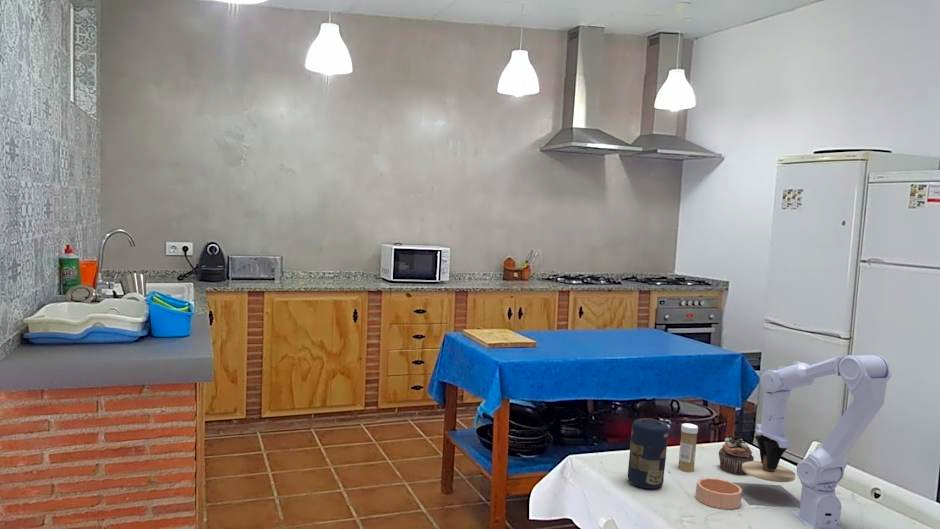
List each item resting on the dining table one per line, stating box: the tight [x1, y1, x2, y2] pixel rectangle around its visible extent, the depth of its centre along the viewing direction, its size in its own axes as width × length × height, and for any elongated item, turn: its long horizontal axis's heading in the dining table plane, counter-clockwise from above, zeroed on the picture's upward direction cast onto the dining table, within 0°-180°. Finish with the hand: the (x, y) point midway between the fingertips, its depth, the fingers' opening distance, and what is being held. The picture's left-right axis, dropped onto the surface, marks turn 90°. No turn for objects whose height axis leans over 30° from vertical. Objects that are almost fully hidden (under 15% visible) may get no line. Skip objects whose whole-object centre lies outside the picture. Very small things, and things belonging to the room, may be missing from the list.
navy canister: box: [627, 417, 670, 489], centre depth 191 cm, size 10×10×18 cm
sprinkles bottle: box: [677, 422, 699, 473], centre depth 203 cm, size 5×5×13 cm
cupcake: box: [718, 435, 755, 476], centre depth 206 cm, size 10×10×10 cm
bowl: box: [695, 477, 743, 510], centre depth 182 cm, size 11×11×4 cm
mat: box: [732, 481, 800, 509], centre depth 188 cm, size 15×15×1 cm
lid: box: [742, 455, 796, 483], centre depth 188 cm, size 13×13×4 cm
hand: (768, 466), depth 188 cm, fingers closed on lid, 3 cm apart
